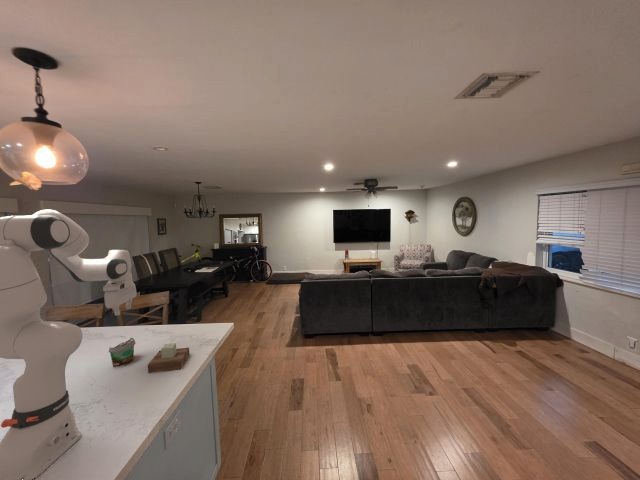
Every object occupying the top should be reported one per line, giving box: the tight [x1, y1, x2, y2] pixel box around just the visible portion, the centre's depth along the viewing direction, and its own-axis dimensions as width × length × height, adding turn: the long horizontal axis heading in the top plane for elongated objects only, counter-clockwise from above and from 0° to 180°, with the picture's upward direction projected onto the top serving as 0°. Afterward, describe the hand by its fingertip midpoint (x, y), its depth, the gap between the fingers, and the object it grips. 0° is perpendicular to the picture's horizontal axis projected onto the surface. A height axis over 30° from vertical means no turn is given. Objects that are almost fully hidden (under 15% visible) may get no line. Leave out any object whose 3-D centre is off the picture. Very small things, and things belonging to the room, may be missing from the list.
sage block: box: [160, 342, 177, 359], centre depth 130 cm, size 5×5×5 cm
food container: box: [108, 337, 136, 368], centre depth 133 cm, size 12×6×10 cm, turn 168°
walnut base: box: [147, 347, 190, 374], centre depth 130 cm, size 14×14×4 cm
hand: (123, 311), depth 127 cm, fingers open, 8 cm apart
